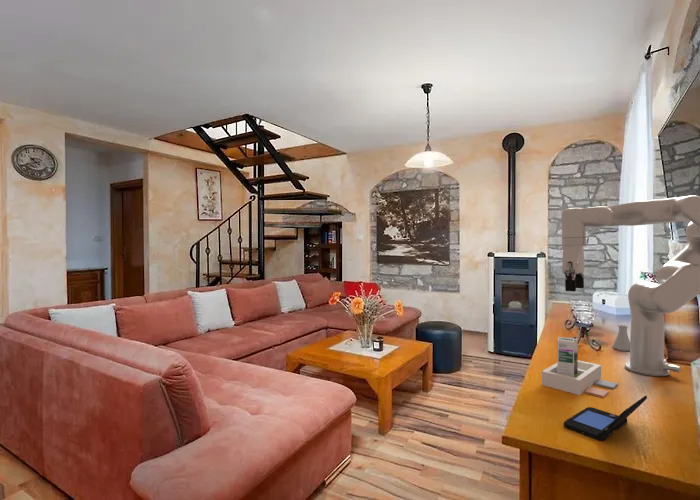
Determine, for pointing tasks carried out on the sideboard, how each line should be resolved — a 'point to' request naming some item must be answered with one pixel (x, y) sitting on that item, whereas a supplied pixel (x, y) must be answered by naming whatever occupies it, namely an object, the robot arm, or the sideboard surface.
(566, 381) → the socket block
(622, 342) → the flask
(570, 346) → the syrup box
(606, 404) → the sideboard surface
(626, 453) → the sideboard surface
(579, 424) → the game console
